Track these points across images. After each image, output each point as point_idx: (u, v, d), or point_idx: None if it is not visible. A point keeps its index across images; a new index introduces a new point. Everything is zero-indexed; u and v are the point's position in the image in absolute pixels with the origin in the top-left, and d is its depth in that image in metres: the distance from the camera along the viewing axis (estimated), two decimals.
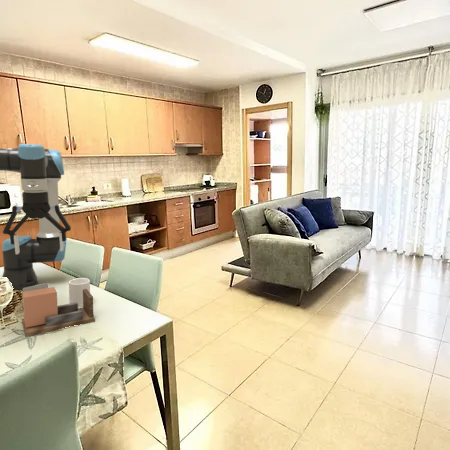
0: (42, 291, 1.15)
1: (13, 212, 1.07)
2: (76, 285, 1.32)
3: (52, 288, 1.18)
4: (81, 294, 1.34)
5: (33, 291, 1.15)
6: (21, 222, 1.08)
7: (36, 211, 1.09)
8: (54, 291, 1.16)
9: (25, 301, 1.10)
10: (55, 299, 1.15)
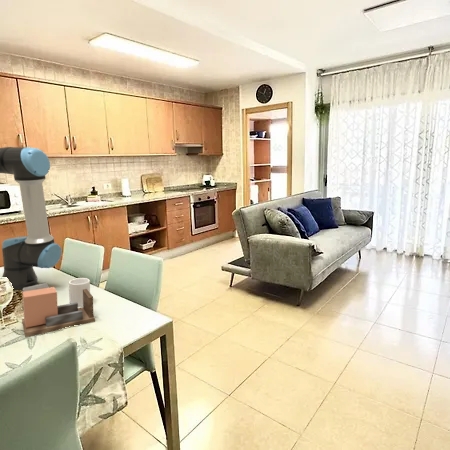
0: (42, 291, 1.15)
1: None
2: (76, 285, 1.32)
3: (52, 288, 1.18)
4: (81, 294, 1.34)
5: (33, 291, 1.15)
6: None
7: None
8: (54, 291, 1.16)
9: (25, 301, 1.10)
10: (55, 299, 1.15)
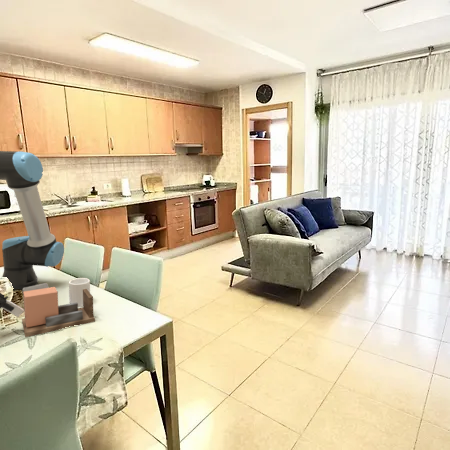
0: (43, 291, 1.15)
1: None
2: (76, 284, 1.32)
3: (53, 288, 1.18)
4: (81, 294, 1.34)
5: (34, 291, 1.15)
6: None
7: None
8: (55, 291, 1.16)
9: (26, 301, 1.10)
10: (56, 299, 1.15)
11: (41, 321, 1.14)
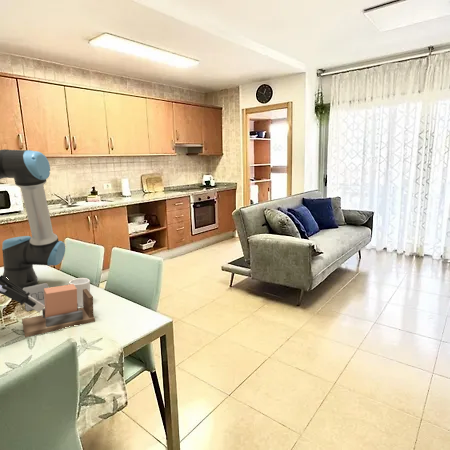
0: (63, 288, 1.19)
1: None
2: (76, 284, 1.32)
3: (72, 285, 1.22)
4: (81, 294, 1.34)
5: (54, 288, 1.19)
6: None
7: None
8: (74, 288, 1.19)
9: (47, 297, 1.14)
10: (75, 296, 1.19)
11: None
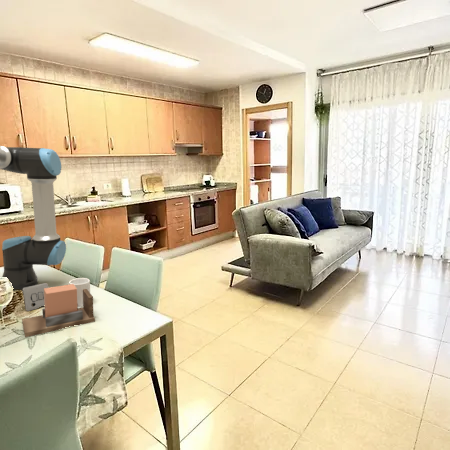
0: (63, 288, 1.19)
1: None
2: (76, 285, 1.32)
3: (72, 285, 1.22)
4: (81, 294, 1.34)
5: (54, 288, 1.19)
6: None
7: None
8: (74, 288, 1.19)
9: (47, 297, 1.14)
10: (75, 296, 1.19)
11: None
